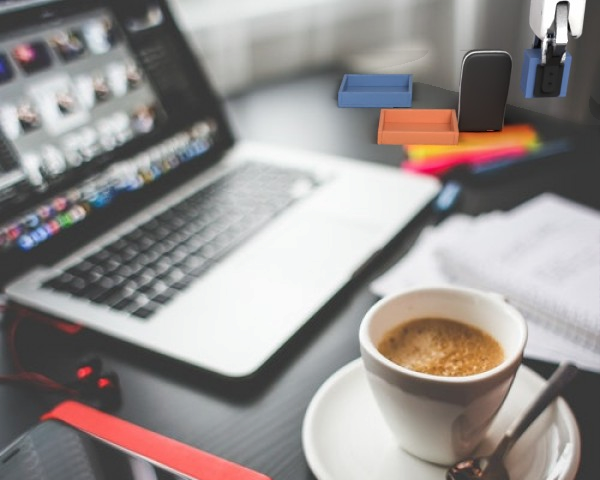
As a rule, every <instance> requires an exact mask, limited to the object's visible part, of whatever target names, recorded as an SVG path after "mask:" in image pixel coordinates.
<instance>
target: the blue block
mask: <svg viewBox="0 0 600 480" xmlns="http://www.w3.org/2000/svg"><path fill="white" fill-rule="evenodd" d="M547 51H548V48H547ZM540 55H541V48H540V49H531V48H524V50H523V59H522V66H521V76H520V84H519V88H520V90H521V92H522V95H523V97H524V98H525V99H540V98H541V99H543V98H544V99H545V98H547V97H535V96H534V95H533V92H534V84H535V76H536V69H537V64H540ZM572 59H573V57H572V55H571V54H570V52H569V51H568V50H567V49H566V55H565V63H564V64H565V65H564V72H563V79H562V85H561V92H560V95H559V96H558V97H557V98H565V97H567V90H568V84H569V78H570V71H571V64H572Z"/></svg>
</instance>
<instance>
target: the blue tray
mask: <svg viewBox="0 0 600 480" xmlns="http://www.w3.org/2000/svg"><path fill="white" fill-rule="evenodd" d="M337 96H338V97H337V102H338V103H337V104H338V105H337V106H338V108H364V109H365V108H366V109H367V108H369V109H371V108H377V109H378V108H381V109H394V108H393V107H411V108H412V104H413V103H412V102H413V73H348V74H347V73H344V75H343V78H342V80H341V83H340V87H339V89H338V92H337Z"/></svg>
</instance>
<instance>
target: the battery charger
mask: <svg viewBox="0 0 600 480" xmlns="http://www.w3.org/2000/svg"><path fill="white" fill-rule="evenodd" d="M512 73H513V57H512V55H511V54H510V53H509V52H508V51H506V50H505V49H502V48H476V49H475V48H474V49H470V50H468V51H466V52H465V54H464V55H463V57H462V61H461V66H460V74H459V85H458V86H459V94H458V96H459V97H458V113H457V123H458V130H459V132H467V131H487V130H501V131H503V129H504V119H505V115H506V114H505V113H506V107H507V102H508V98H509V91H510V86H511V82H512Z"/></svg>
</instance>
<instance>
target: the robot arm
mask: <svg viewBox="0 0 600 480" xmlns="http://www.w3.org/2000/svg"><path fill="white" fill-rule="evenodd" d="M586 2H587V0H530V6H529V18H528V19H529V21H528V22H529V27H530V29H531V30H532V32H533V36H532V42H531V48H530V49H540V48H541V55H540V64H537V69H536V76H535V84H534V92H533V95H534V96H535V97H546V98H559V97H558V96H559V95H560V92H561V85H562V79H563V72H564V65H565V64H564V63H565V55H566V50H567V45H568V35H569V36H570V37H571V38H572V39H574V40H577V39H579V38H580V37H581V36H582V34H583V26H584V19H585V18H584V17H585V12H586V11H585V10H586ZM547 48H548V51H547Z"/></svg>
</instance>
